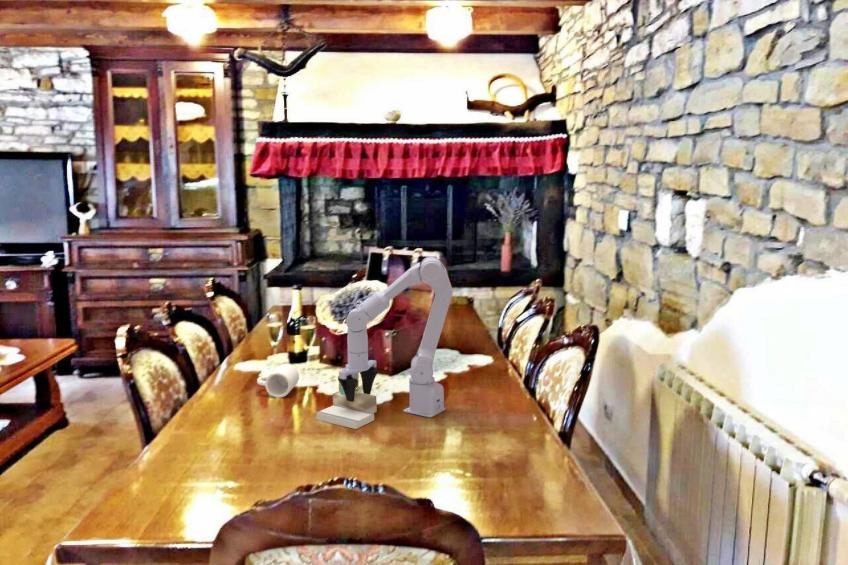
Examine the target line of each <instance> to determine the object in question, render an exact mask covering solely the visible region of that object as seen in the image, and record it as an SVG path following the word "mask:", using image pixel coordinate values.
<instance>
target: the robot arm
mask: <svg viewBox="0 0 848 565" xmlns="http://www.w3.org/2000/svg"><path fill="white" fill-rule="evenodd" d="M423 281H424V282H425V283H426V284H428V285H429V286H430V288H431V289H432V291H433V293H434V298H433V300H432V304H431V308H430V311H429V315H428V318H427V322H426V325H425V327H424V331H423V336H422V339H421V340H420V345H419V347H418V349H417V352H416V354H415V356H414V357H412V359H411V361H410V368H411V369H410V372H409V373H410V377H409V379H408V380H409V381H408V382H409V385H408V387H409V388H408V390H409V393H408V394H409V406H408V407H406V408H404V409H403V412H404V413H408V414H413V415H417V416H421V417H426V418H432V417H435V416H437V415H438V414H440V413H442V412H444V411H445V410H446V407H445V406H444V405H445V396H444V393H445V392H444V391H445V389H444V386H443V385H442V384H441V383H439V382H438V381H437V382H436V381H435V377H434V376H433V375H434V370H433V364H434V360H435V354H436V351H437V347H438V343H439V341H440V338H441V335H442V331H443V327H444V324H445V321H446V318H447V313H448V310H449V307H450V304H451V302H452V299H453V298H452V297H453V294H454V291H453V287H452V284H451V282H450V279H449V276H448V272H447V269H446V267H445V265H444V264H443V263H442V261H441V260H440V259H439V258H438V257H435V256H431V255H430V256H427V257H425V258H423V259H422V261H421V262H418V263H416V264H414V265H413V266H411V267H410V268H408V269H407V270H406V271H405V272H404V273H403V274H401V275H400V276H399V277H398V278H397V279H396V280H395V281H393V282H392V283H391V284H390V285H389V286H388V287H386V288H385V289H384V290H383V291H381V290H380V291H379V290H376V291H374V292H372V291H371V292H369V293H368V294H367V296H368V297H367V298H366V299H364V300H363V301H362V302H361V303H357V304H356V305H355V308H352V309H351V310H350V311H349V313H348V314H347V317H346V320H345V323H346V324H345V325H346V327H347V336H346V337H347V338H346V340H347V343H346V344H347V364H345V367H344V368H343V369H342V370H340V371H338V376H337V380H338V383H339V382H340V383H341V385H342V387H343V390H344V392H345V396H346V399H347V401H351V402H353V401H354V396H355V392H356V390H355V386H356V382H357V380H358V379H354V378H353V377H352V375H354V374H357V373H359V374H360V375H359V376H360V379H361V383H362V391H363V392H362V393H365V394H370V395H371V393H372V389H373V385H374V381H375V379H376V377H377V374H378V373H379V370H378V369H377V360H375V359H369V339H368V338H369V337H368V331H367V328H368V327H367V325H368V322H372V321H373V320H375V319H376V318H377V317H378V316H380V315H381V314H382V313H383V312H385V311H386V310H388V309H389V307H390V302H391V301H392V300H393V298H395V297H397V296H398V295H399V294H400V293H401V292H403V291H404V290H406V289H407V288H408V287H410V286H411V285H413V284H414V285H415V284H423Z"/></svg>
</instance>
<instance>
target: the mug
mask: <svg viewBox="0 0 848 565" xmlns="http://www.w3.org/2000/svg"><path fill="white" fill-rule="evenodd" d="M299 381H300V372H299V370H298V369H297V368H296V366H294V365H292V364H289V363H283V364H280V365H278V366H277V368H275V369H274V370H273V371H272V372H271V373H269V374H266V375H261V376H259V377H257V379H256V383H257V385H259V386H263V387H264V388H265V390H266V391H267V393H268V394H269V395H270V396H271V397H274V398H279V399H280V398H284V397H286V396H287V395H288V394H289V393H290V392H291V391H292V389H293V388H294V387H295V386H296V385H297V384H298V383H299Z"/></svg>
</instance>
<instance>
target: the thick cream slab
mask: <svg viewBox="0 0 848 565" xmlns="http://www.w3.org/2000/svg"><path fill="white" fill-rule="evenodd" d="M334 404H335V405H340V406H344V407H349V408H353V409H357V410H362V411H366V412H370V413H374V414H375V413H378V410H377V408H378V406H377V395H375V394H374V395H373V394H371V393H370V394H365V393H363V392H361V391H360V392H359V391H355V396H354V401H353V402H351V401H347V399H346V396H345V395H341V394H340V391H339V390H338V391H336V392H333V393H332V406H333V405H334Z"/></svg>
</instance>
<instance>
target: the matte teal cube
mask: <svg viewBox="0 0 848 565" xmlns="http://www.w3.org/2000/svg"><path fill="white" fill-rule="evenodd" d="M340 394H341V395H345V392H344V390H343V387H342V385H341V384H340Z"/></svg>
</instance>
